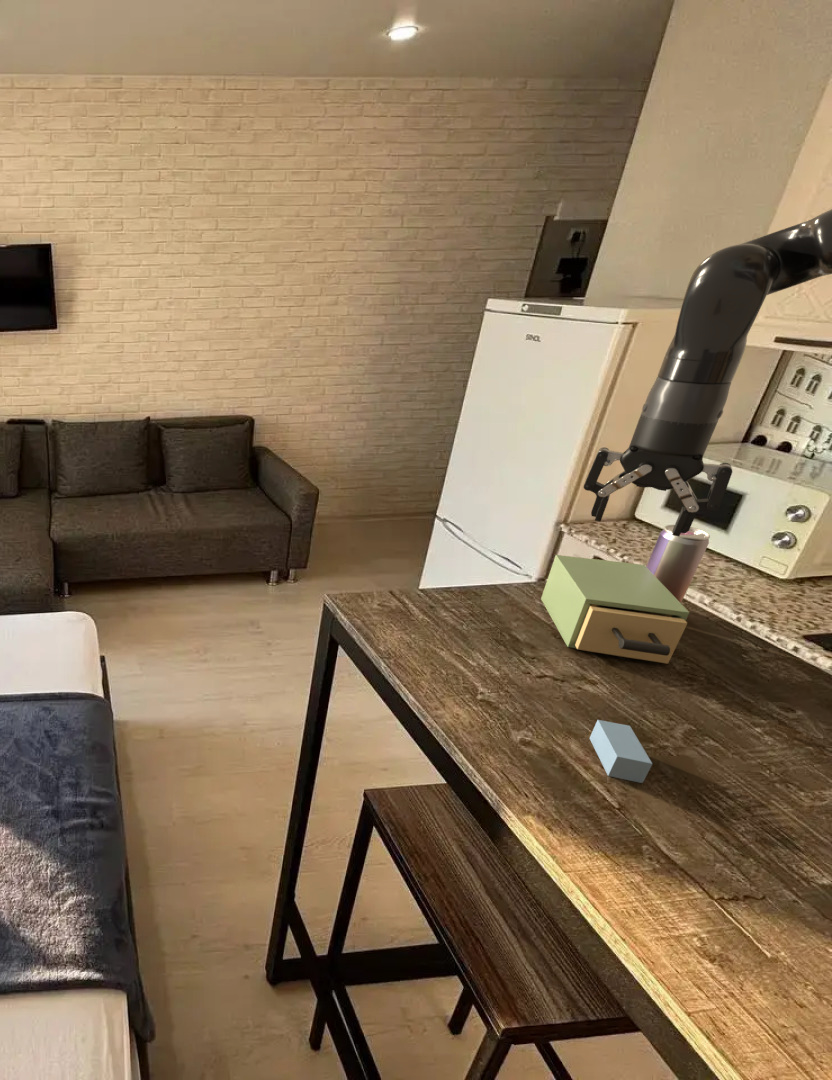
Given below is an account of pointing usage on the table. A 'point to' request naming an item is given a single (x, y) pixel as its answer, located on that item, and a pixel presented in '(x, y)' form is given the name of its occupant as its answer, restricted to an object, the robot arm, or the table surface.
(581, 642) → the drawer
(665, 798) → the table surface
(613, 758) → the light blue rectangular block
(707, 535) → the beverage can
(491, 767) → the table surface
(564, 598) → the cabinet
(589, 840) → the table surface
